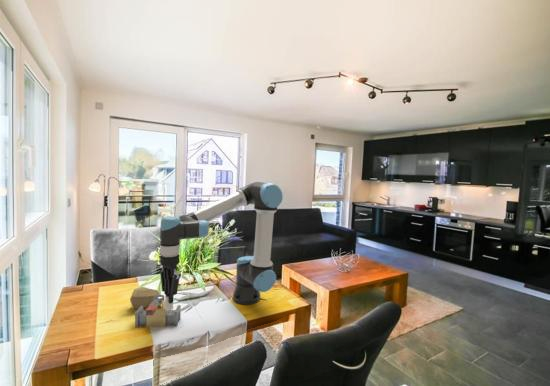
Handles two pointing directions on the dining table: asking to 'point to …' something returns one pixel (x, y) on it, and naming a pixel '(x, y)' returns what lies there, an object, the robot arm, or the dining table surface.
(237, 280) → the robot arm
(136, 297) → the low-poly potato
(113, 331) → the dining table surface
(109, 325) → the dining table surface
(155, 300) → the lever
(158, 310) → the valve
